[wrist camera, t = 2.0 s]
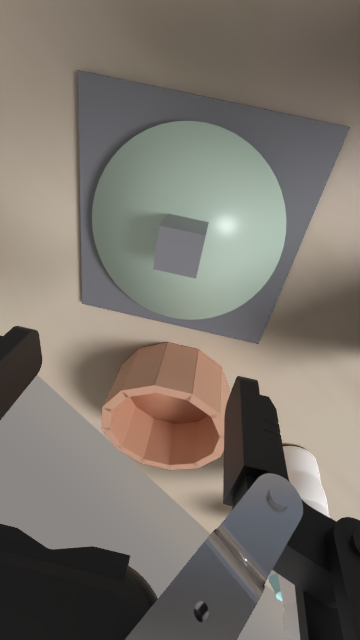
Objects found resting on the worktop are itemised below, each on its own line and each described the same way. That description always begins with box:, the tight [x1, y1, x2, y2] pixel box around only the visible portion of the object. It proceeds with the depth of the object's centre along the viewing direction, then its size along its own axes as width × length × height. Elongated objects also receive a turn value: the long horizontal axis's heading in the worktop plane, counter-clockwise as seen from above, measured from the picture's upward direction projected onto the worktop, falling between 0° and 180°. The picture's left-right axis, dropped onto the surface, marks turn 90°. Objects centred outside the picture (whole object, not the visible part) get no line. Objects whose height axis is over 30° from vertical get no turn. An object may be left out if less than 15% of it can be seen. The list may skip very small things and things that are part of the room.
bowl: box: [102, 342, 229, 470], centre depth 34 cm, size 14×14×7 cm
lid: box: [92, 121, 286, 320], centre depth 24 cm, size 17×17×5 cm
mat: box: [78, 70, 350, 344], centre depth 26 cm, size 20×20×1 cm
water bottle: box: [278, 446, 330, 640], centre depth 31 cm, size 7×7×25 cm
